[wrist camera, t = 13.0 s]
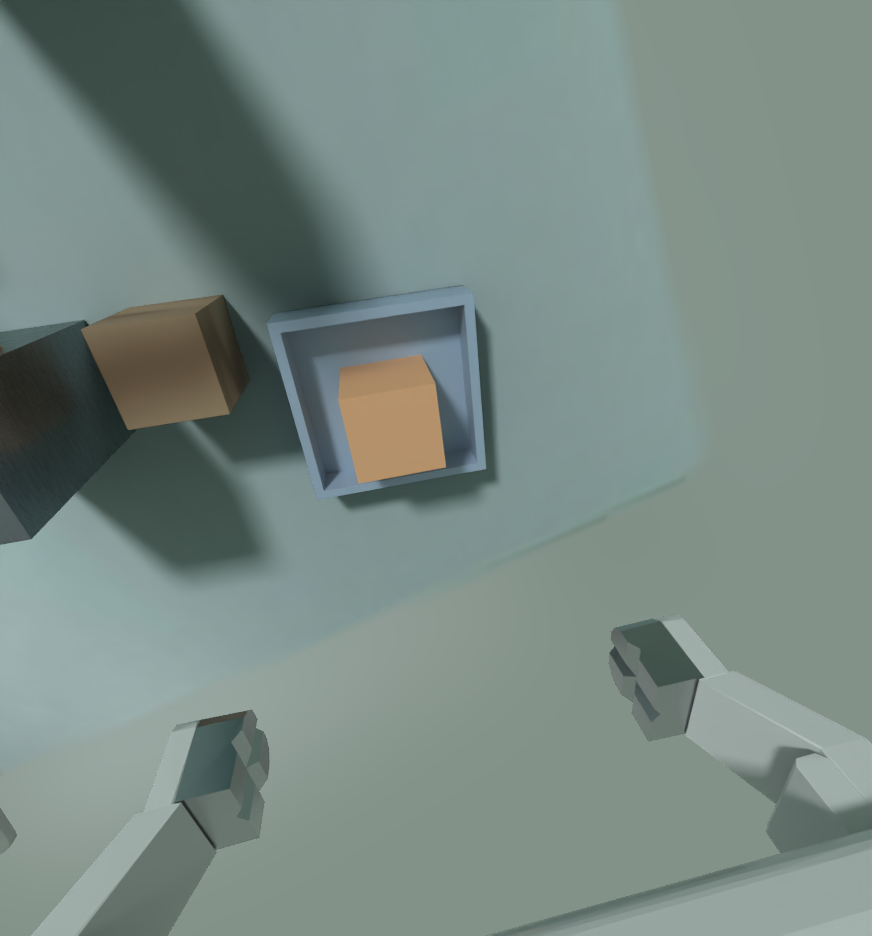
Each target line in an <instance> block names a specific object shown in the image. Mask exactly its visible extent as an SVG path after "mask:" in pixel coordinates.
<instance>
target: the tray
mask: <svg viewBox="0 0 872 936" xmlns="http://www.w3.org/2000/svg"><path fill="white" fill-rule="evenodd" d="M267 327H268V331H269V334H270V338H271V341H272V344H273V348H274V351H275V355H276V358H277V362H278V365H279V369H280V372H281V376H282V379H283V383H284V386H285V390H286V393H287V397H288V400H289V403H290V407H291V410H292V414H293V417H294V421H295V424H296V428H297V431H298V435H299V438H300V442H301V445H302V449H303V452H304V456H305V459H306V463H307V466H308V469H309V473H310V476H311V480H312V483H313V487H314V490H315V494H316V497H317V500H320V499H325V498H331V497H336V496H342V495H347V494H353V493H358V492H364V491H369V490H374V489H380V488H385V487H391V486H396V485H402V484H407V483H413V482H418V481H424V480H429V479H435V478H440V477H446V476H451V475H457V474H462V473H468V472H473V471H478V470H484V469H486V459H485V446H484V432H483V418H482V404H481V390H480V376H479V362H478V349H477V335H476V321H475V307H474V293H473V292H472V291H470V290H469V289H467V288H466V287H464V286H463V285H461V286H455V287H448V288H441V289H434V290H428V291H421V292H414V293H408V294H401V295H394V296H388V297H381V298H374V299H367V300H361V301H354V302H347V303H341V304H334V305H327V306H321V307H314V308H307V309H301V310H294V311H287V312H280V313H274V314H273V316H272V317H271V319H270V320H269V321H268V323H267ZM415 355H422V357H423V359H424V361H425V363H426V365H427V367H428V369H429V371H430V374H431V376H432V378H433V380H434V382H435V385H436V392H437V400H438V408H439V416H440V423H441V431H442V439H443V447H444V454H445V462H446V467H445V468H440V469H435V470H429V471H424V472H419V473H413V474H408V475H403V476H397V477H392V478H387V479H381V480H376V481H371V482H365V483H360V484H358V480H357V476H356V472H355V468H354V464H353V459H352V455H351V451H350V447H349V443H348V439H347V434H346V430H345V426H344V422H343V418H342V414H341V409H340V405H339V401H338V397H339V379H340V368H343V367H349V366H355V365H361V364H367V363H373V362H379V361H385V360H391V359H397V358H403V357H409V356H415Z"/></svg>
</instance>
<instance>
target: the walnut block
mask: <svg viewBox="0 0 872 936" xmlns="http://www.w3.org/2000/svg"><path fill="white" fill-rule="evenodd" d="M81 331H82V333H83V335H84V337H85V340H86V342H87V344H88V346H89V348H90V350H91V352H92V354H93V357H94V359H95V361H96V363H97V365H98V367H99V369H100V371H101V374H102V376H103V378H104V380H105V382H106V384H107V386H108V388H109V391H110V393H111V395H112V397H113V399H114V401H115V403H116V405H117V408H118V410H119V412H120V414H121V416H122V418H123V420H124V422H125V424H126V427H127V429H128V430H131V429H138V428H144V427H151V426H157V425H163V424H170V423H176V422H183V421H189V420H195V419H202V418H208V417H214V416H221V415H227V414H230V413H231V411H232V410H233V408H234V406H235V404H236V403H237V401H238V399H239V398H240V396H241V394H242V392H243V391H244V389H245V387H246V386H247V384H248V382H249V377H248V374H247V371H246V367H245V364H244V361H243V358H242V355H241V352H240V348H239V345H238V342H237V339H236V336H235V332H234V329H233V326H232V323H231V320H230V317H229V313H228V310H227V307H226V304H225V301H224V297H223V295H218V296H211V297H203V298H196V299H189V300H181V301H174V302H166V303H159V304H151V305H144V306H137V307H130V308H127V309H125V310H123V311H121V312H118V313H116V314H114V315H112V316H109V317H107V318H105V319H103V320H101V321H98V322H96V323H94V324H92V325H89V326H87V327H85V328H83V329H81Z"/></svg>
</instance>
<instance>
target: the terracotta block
mask: <svg viewBox="0 0 872 936" xmlns="http://www.w3.org/2000/svg"><path fill="white" fill-rule="evenodd" d="M338 401H339V405H340V409H341V414H342V418H343V422H344V426H345V430H346V434H347V439H348V443H349V447H350V451H351V455H352V459H353V464H354V468H355V472H356V476H357V480H358V484H360V483H365V482H371V481H376V480H381V479H387V478H392V477H397V476H403V475H408V474H413V473H419V472H424V471H429V470H435V469H440V468H445V467H446V462H445V454H444V447H443V439H442V431H441V423H440V416H439V408H438V400H437V392H436V385H435V382H434V380H433V378H432V376H431V374H430V371H429V369H428V367H427V365H426V363H425V361H424V359H423V357H422V355H415V356H409V357H403V358H397V359H391V360H385V361H379V362H373V363H367V364H361V365H355V366H349V367H343V368H340V379H339V397H338Z"/></svg>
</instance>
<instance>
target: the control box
mask: <svg viewBox="0 0 872 936" xmlns="http://www.w3.org/2000/svg"><path fill="white" fill-rule="evenodd" d="M85 327H87V325H86V323H85V321H84V320H82V321H75V322H68V323H61V324H54V325H47V326H41V327H34V328H27V329H20V330H13V331H6V332H0V545H1V544H7V543H12V542H18V541H23V540H29V539H32V538H33V537H34V536H35V535H36V534H37V533H38V532H39V531H40V530H41V529H42V527H43V526H44V525H45V524H46V523H47V522H48V521H49V520H50V519H51V518H52V517H53V516H54V515H55V514H56V513H57V512H58V511H59V510H60V509H61V508H62V507H63V506H64V505H65V504H66V503H67V501H68V500H69V499H70V498H71V497H72V496H73V495H74V494H75V493H76V492H77V491H78V490H79V489H80V488H81V487H82V486H83V485H84V484H85V483H86V482H87V481H88V480H89V479H90V478H91V477H92V475H93V474H94V473H95V472H96V471H97V470H98V469H99V468H100V467H101V466H102V465H103V464H104V463H105V462H106V461H107V460H108V459H109V458H110V457H111V456H112V455H113V454H114V453H115V452H116V451H117V449H118V448H119V447H120V446H121V445H122V444H123V443H124V442H125V441H126V440H127V439H128V438H129V437H130V436H131V435H132V434H133V433H134V432H135V431H136V429H131V430H128V429H127V427H126V424H125V422H124V420H123V418H122V416H121V414H120V412H119V410H118V408H117V405H116V403H115V401H114V399H113V397H112V395H111V393H110V391H109V388H108V386H107V384H106V382H105V380H104V378H103V376H102V374H101V371H100V369H99V367H98V365H97V363H96V361H95V359H94V357H93V354H92V352H91V350H90V348H89V346H88V344H87V342H86V340H85V337H84V335H83V333H82V331H81V329H83V328H85Z"/></svg>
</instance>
